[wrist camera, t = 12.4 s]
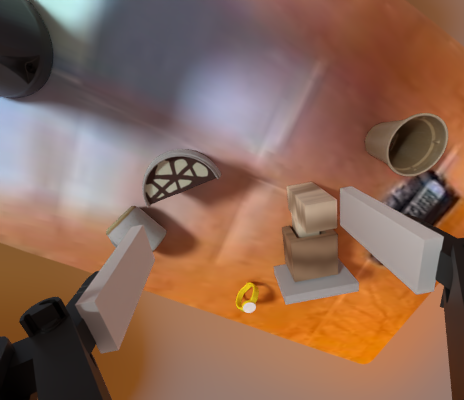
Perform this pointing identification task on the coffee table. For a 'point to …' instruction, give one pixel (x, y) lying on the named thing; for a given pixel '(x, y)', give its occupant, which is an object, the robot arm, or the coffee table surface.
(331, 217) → the cream l-shaped piece
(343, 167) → the coffee table surface
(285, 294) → the wall
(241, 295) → the watch
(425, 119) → the flower pot
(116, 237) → the ceramic mug
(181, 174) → the half-round slice
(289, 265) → the block
